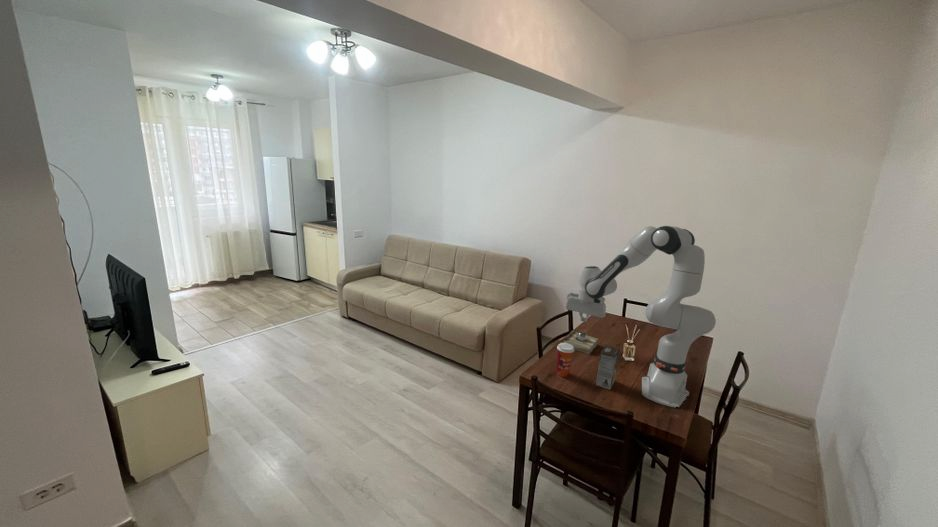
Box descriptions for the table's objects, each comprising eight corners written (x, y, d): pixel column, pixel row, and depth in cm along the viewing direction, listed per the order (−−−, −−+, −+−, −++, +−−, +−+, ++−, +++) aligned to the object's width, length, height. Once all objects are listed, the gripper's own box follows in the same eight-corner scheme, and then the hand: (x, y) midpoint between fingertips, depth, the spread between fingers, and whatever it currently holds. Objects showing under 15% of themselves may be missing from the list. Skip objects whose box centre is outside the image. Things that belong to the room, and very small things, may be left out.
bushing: (582, 347, 197) (584, 335, 195) (575, 345, 199) (577, 333, 198) (585, 345, 200) (587, 333, 199) (578, 342, 203) (579, 331, 201)
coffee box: (600, 376, 170) (605, 344, 166) (615, 380, 167) (620, 348, 163) (595, 385, 163) (600, 352, 159) (610, 390, 160) (616, 356, 156)
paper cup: (559, 379, 166) (562, 350, 163) (550, 370, 173) (554, 342, 170) (574, 377, 168) (578, 349, 165) (565, 368, 175) (569, 341, 172)
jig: (589, 354, 190) (590, 346, 189) (563, 346, 198) (564, 338, 197) (597, 344, 201) (598, 337, 200) (572, 337, 209) (573, 329, 208)
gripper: (565, 293, 196) (562, 317, 199) (605, 301, 186) (601, 327, 189) (569, 290, 202) (566, 314, 205) (608, 299, 191) (604, 324, 194)
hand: (583, 321), depth 197 cm, fingers closed
